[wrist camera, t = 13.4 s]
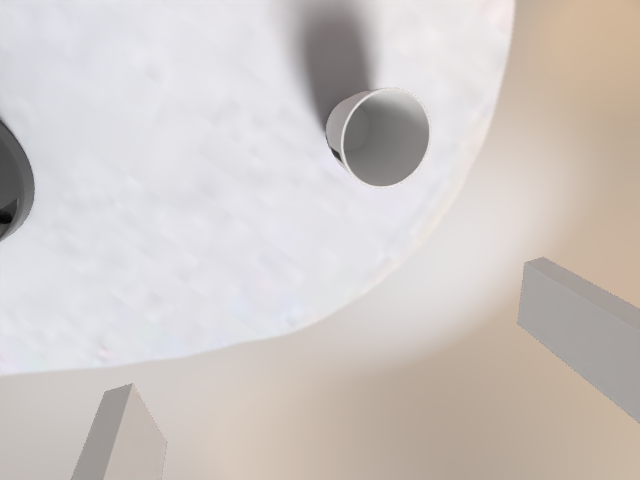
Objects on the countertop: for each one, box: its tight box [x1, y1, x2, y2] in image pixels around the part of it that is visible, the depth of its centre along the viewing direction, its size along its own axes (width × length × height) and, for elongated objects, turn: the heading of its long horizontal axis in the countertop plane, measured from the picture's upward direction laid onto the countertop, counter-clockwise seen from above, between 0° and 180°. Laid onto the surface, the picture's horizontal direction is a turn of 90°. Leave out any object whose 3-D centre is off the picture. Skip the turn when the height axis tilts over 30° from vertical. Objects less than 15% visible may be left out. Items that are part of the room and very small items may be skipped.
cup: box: [326, 88, 431, 189], centre depth 33 cm, size 8×8×10 cm
